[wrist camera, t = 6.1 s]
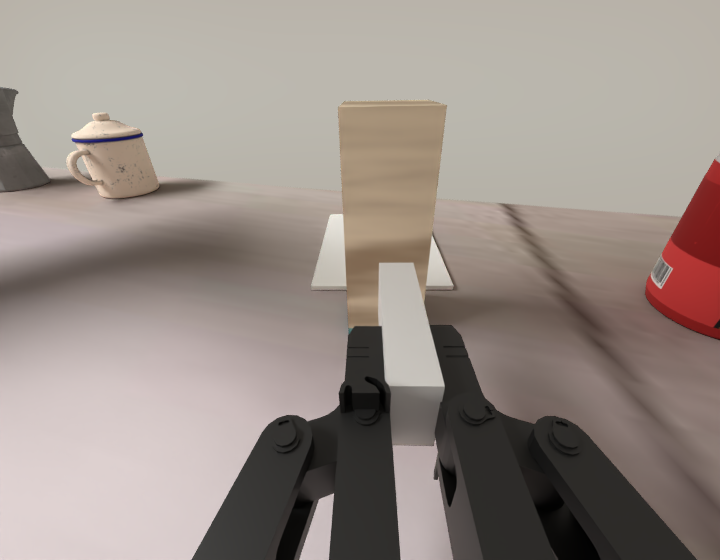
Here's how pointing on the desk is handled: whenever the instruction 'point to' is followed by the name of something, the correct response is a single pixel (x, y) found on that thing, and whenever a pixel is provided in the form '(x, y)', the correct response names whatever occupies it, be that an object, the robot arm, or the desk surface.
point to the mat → (334, 270)
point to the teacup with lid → (113, 158)
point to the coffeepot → (15, 152)
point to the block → (387, 193)
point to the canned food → (692, 263)
